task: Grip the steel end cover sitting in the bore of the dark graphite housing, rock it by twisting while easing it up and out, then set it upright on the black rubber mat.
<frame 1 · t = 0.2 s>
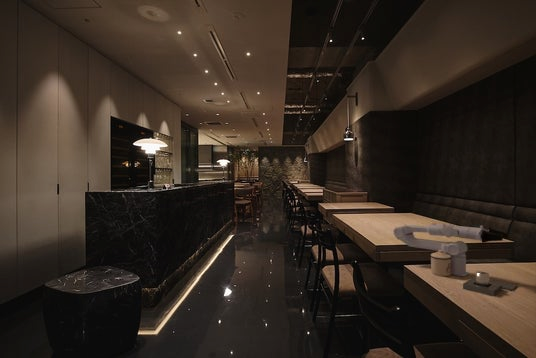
hand: (505, 236, 134), 21 cm above the table, tool horizontal, fingers open, 7 cm apart
housing: (482, 289, 128), on the table
rubber mat: (501, 285, 132), on the table
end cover: (482, 281, 128), in the housing
teacup with lid: (441, 273, 151), on the table, touching arm
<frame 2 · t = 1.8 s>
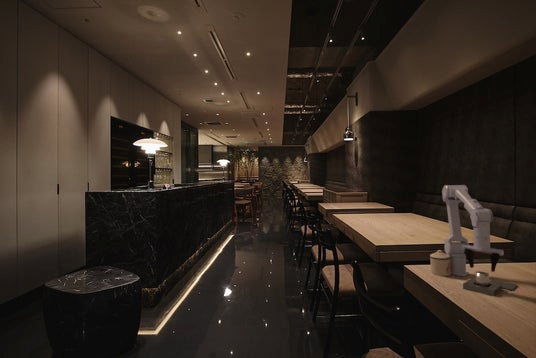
hand: (482, 269, 128), 9 cm above the table, tool pointing down, fingers open, 7 cm apart
nothing on the table moved.
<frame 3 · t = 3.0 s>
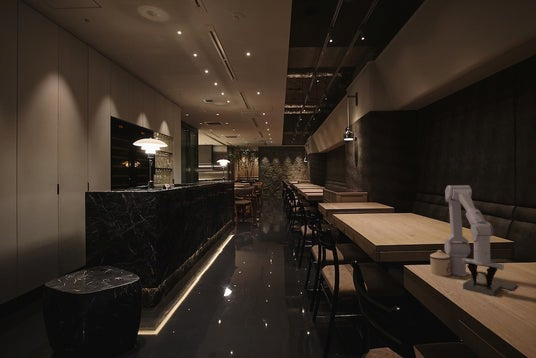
hand: (482, 283, 128), 3 cm above the table, tool pointing down, fingers closed on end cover, 5 cm apart
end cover: (482, 280, 128), in the housing, touching gripper
everything else where it was.
when the fingers open (5 cm above the table, at t = 7.6 s): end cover drops 2 cm, resting on rubber mat.
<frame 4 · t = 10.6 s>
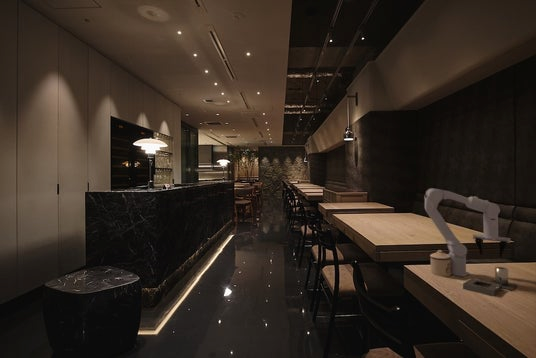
hand: (491, 255, 145), 10 cm above the table, tool pointing down, fingers open, 7 cm apart
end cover: (501, 276, 132), on the rubber mat, point 4 cm above the table
everything else where it was.
at the end: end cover inside the target area on the rubber mat (0.1 cm from its centre), point 4.2 cm above the rubber mat's base; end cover tilted 0°; the gripper is holding nothing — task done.
